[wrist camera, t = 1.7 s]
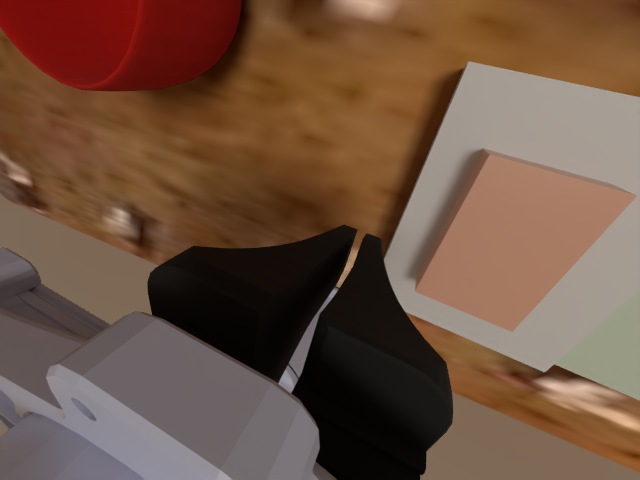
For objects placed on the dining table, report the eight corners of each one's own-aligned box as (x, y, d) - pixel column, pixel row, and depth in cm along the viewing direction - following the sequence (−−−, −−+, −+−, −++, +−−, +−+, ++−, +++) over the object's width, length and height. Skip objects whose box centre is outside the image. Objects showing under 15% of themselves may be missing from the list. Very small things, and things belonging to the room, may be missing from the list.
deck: (376, 275, 24) (368, 295, 21) (463, 68, 15) (468, 61, 13) (531, 340, 21) (544, 372, 18) (744, 129, 12) (819, 135, 10)
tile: (416, 275, 19) (414, 291, 17) (483, 148, 14) (489, 154, 12) (505, 310, 18) (512, 332, 16) (611, 184, 13) (637, 195, 11)
